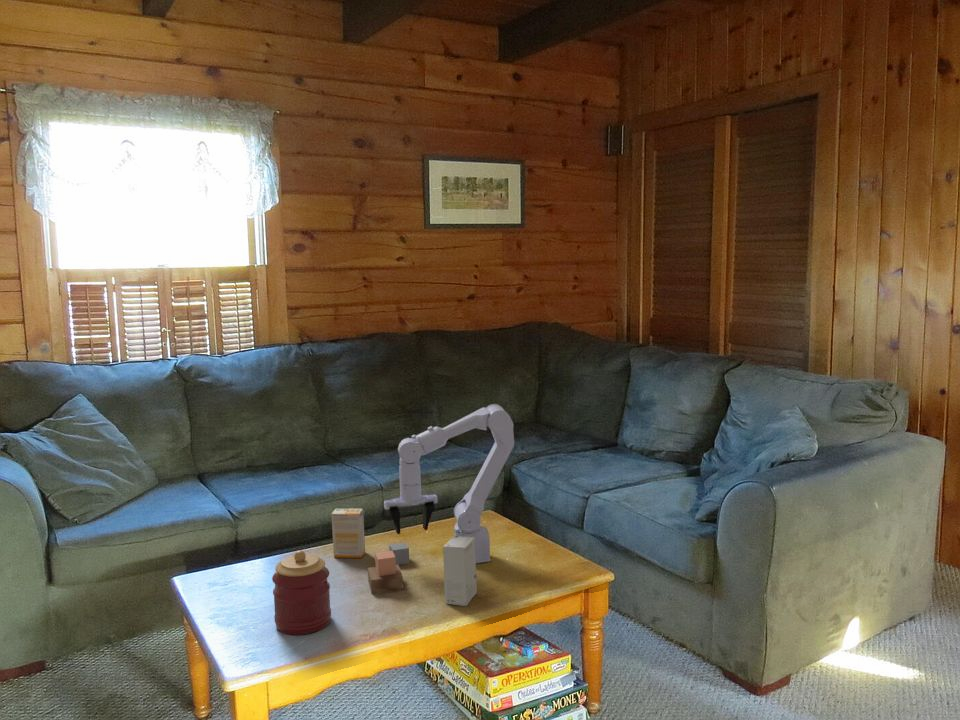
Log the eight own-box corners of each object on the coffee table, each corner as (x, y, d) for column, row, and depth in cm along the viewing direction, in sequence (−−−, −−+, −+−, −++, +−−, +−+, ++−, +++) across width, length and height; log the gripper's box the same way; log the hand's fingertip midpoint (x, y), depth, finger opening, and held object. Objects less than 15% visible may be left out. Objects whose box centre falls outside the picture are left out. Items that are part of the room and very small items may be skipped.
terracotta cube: (392, 566, 211) (392, 550, 211) (396, 573, 207) (395, 556, 206) (375, 569, 210) (374, 553, 209) (378, 576, 206) (377, 559, 205)
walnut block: (398, 578, 214) (398, 564, 213) (403, 591, 206) (402, 576, 205) (368, 582, 212) (367, 567, 211) (371, 595, 204) (371, 580, 204)
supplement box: (365, 551, 232) (364, 508, 230) (361, 558, 227) (359, 513, 225) (337, 551, 233) (335, 507, 231) (333, 557, 228) (330, 513, 226)
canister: (265, 621, 190) (261, 549, 188) (316, 605, 198) (312, 536, 196) (289, 642, 180) (285, 566, 178) (341, 624, 188) (338, 552, 186)
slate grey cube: (405, 557, 227) (404, 542, 227) (409, 563, 223) (408, 547, 222) (389, 560, 226) (389, 544, 225) (393, 565, 222) (392, 550, 221)
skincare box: (466, 607, 196) (465, 548, 194) (443, 604, 198) (441, 546, 196) (477, 592, 204) (476, 536, 202) (454, 590, 206) (453, 534, 203)
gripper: (387, 490, 213) (389, 539, 215) (440, 483, 218) (441, 532, 220) (381, 482, 220) (383, 530, 222) (432, 476, 225) (434, 523, 227)
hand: (411, 530), depth 221 cm, fingers open, 7 cm apart
